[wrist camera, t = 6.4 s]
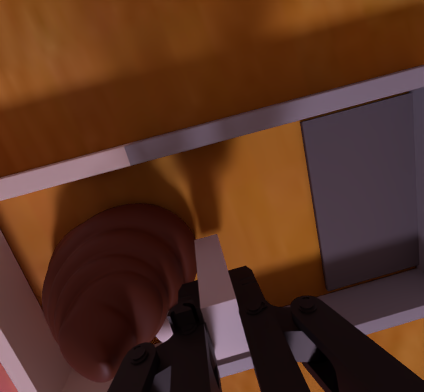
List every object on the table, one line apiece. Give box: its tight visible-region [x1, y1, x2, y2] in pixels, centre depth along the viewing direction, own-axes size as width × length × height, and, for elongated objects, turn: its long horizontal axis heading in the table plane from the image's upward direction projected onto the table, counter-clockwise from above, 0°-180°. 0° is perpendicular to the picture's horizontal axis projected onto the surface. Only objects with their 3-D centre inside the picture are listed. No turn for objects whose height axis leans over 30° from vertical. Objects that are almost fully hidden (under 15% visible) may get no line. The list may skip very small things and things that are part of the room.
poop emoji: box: [42, 203, 197, 383], centre depth 15 cm, size 10×8×9 cm
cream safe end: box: [0, 142, 163, 392], centre depth 17 cm, size 11×16×4 cm
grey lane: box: [124, 65, 424, 378], centre depth 18 cm, size 19×16×4 cm
